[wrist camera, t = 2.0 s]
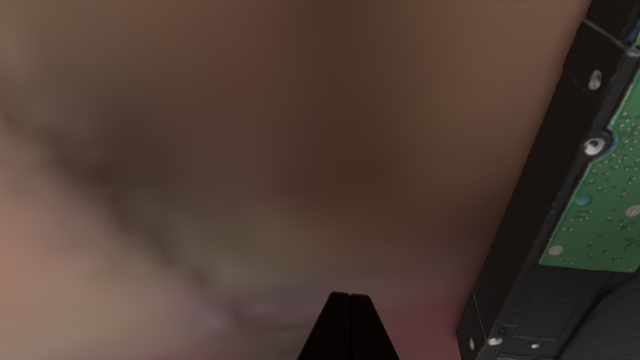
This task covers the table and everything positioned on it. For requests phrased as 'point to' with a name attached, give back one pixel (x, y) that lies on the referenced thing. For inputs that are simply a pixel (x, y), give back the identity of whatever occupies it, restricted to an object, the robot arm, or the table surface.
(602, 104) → the disk drive
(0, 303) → the table surface
